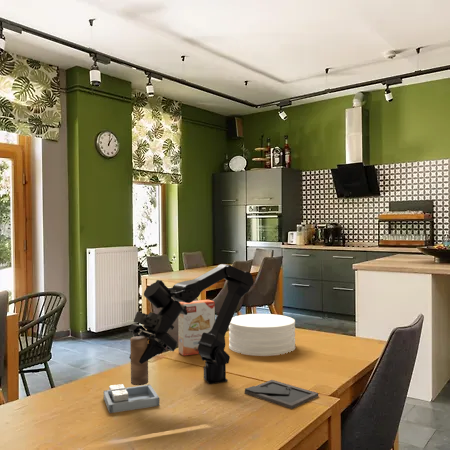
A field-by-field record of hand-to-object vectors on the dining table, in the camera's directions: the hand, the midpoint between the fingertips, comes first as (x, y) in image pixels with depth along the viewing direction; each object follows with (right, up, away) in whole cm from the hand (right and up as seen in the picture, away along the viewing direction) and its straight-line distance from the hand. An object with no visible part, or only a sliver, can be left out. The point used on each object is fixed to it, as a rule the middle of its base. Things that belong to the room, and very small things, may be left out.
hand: (135, 361), depth 137 cm
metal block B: (-4, -12, -4) cm, 13 cm away
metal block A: (-5, -12, +1) cm, 13 cm away
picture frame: (+43, -13, +7) cm, 46 cm away
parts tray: (-1, -13, 0) cm, 13 cm away
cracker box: (+15, -13, +55) cm, 58 cm away
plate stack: (+42, -12, +63) cm, 77 cm away
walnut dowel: (+1, -7, +1) cm, 7 cm away
